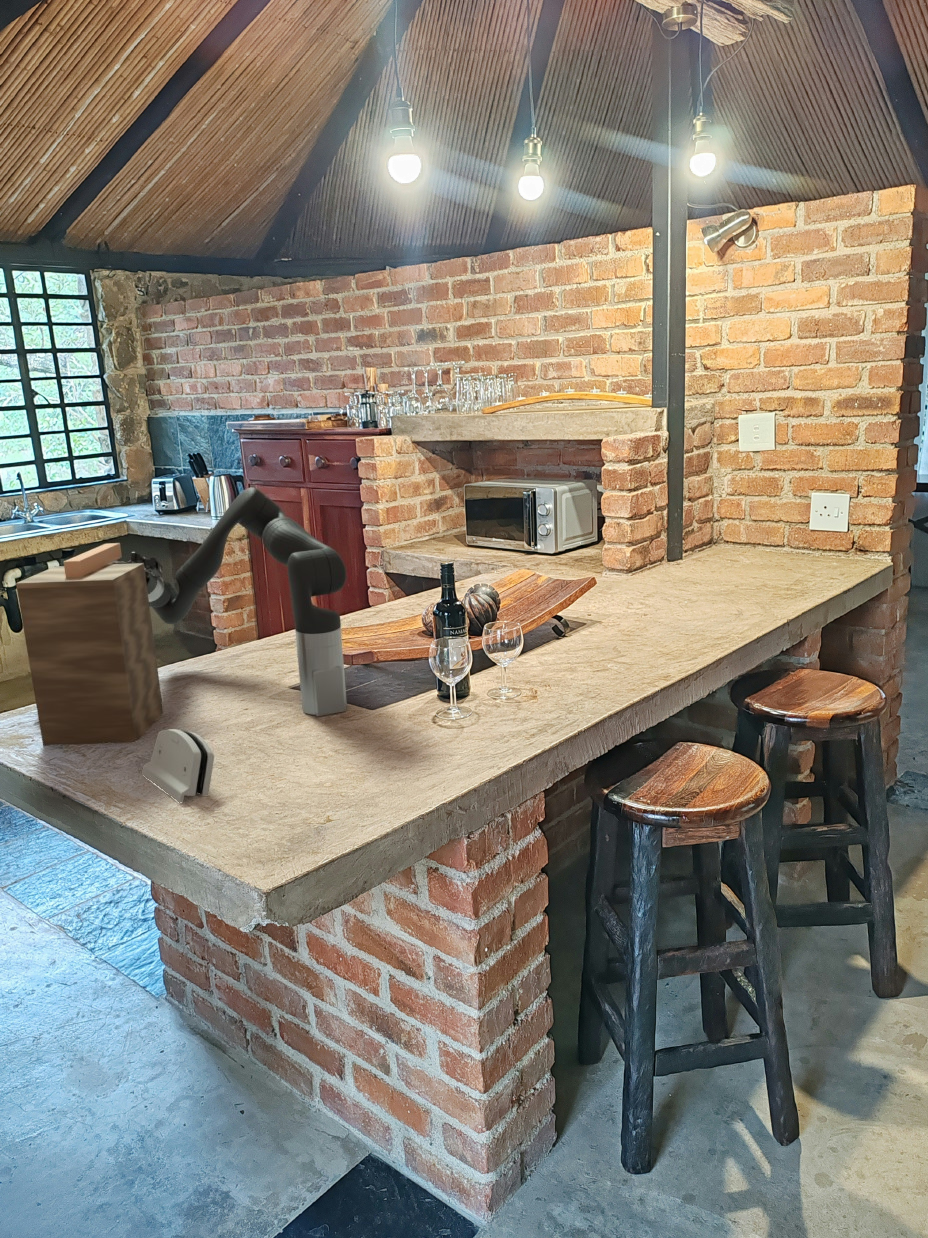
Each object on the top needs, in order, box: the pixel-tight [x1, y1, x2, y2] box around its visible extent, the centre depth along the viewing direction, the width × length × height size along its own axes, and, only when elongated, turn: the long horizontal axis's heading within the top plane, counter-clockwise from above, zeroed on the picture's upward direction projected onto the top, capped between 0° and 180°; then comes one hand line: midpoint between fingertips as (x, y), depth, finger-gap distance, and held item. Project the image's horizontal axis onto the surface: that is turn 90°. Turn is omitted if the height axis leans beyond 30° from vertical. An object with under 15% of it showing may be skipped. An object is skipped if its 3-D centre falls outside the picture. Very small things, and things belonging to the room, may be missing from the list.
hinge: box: [141, 728, 215, 803], centre depth 154 cm, size 17×5×10 cm, turn 40°
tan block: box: [63, 542, 123, 577], centre depth 180 cm, size 20×3×3 cm, turn 179°
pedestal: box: [15, 563, 164, 746], centre depth 178 cm, size 16×18×32 cm
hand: (112, 557), depth 189 cm, fingers open, 8 cm apart
